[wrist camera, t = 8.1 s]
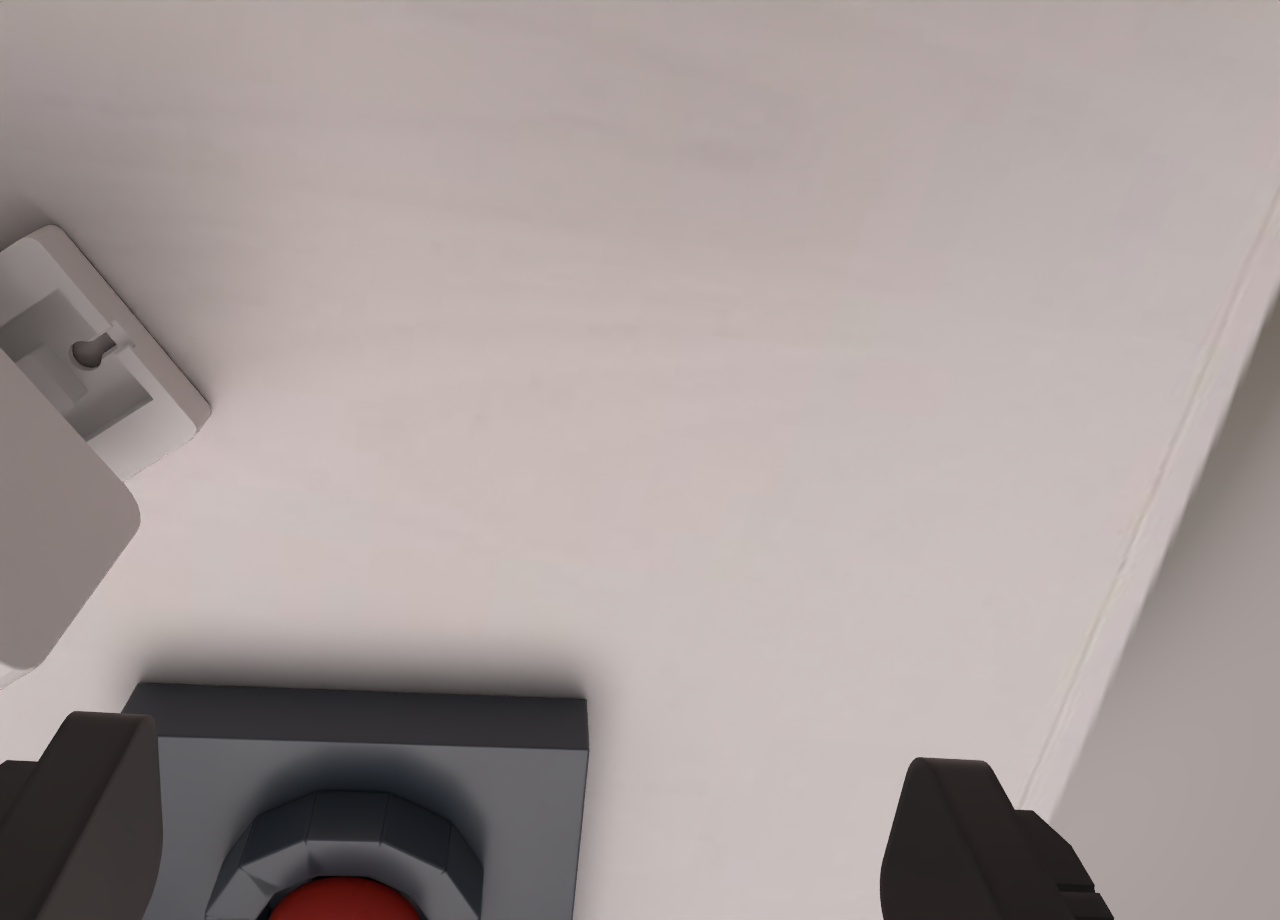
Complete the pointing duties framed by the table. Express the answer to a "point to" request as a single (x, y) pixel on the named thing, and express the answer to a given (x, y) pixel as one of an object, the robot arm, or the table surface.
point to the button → (344, 901)
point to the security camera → (71, 438)
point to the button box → (366, 799)
